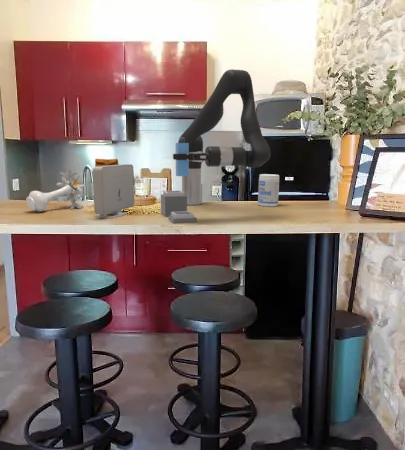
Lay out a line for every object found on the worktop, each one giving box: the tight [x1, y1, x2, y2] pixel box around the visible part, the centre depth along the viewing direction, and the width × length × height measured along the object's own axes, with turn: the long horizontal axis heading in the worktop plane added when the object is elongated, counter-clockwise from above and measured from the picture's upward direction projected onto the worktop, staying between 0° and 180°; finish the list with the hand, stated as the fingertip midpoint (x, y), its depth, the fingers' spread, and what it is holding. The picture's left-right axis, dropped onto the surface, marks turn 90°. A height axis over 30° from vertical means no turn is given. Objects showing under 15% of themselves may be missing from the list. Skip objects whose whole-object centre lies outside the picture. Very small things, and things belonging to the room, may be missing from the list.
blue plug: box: [175, 137, 189, 177], centre depth 159 cm, size 4×4×14 cm
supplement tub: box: [257, 173, 280, 208], centre depth 204 cm, size 10×10×15 cm
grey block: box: [160, 190, 188, 218], centre depth 177 cm, size 9×9×10 cm
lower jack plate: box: [167, 210, 198, 224], centre depth 163 cm, size 9×9×3 cm
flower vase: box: [25, 169, 85, 213], centre depth 189 cm, size 13×18×25 cm
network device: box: [92, 163, 135, 219], centre depth 176 cm, size 26×9×20 cm, turn 161°
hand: (174, 156), depth 158 cm, fingers closed on blue plug, 4 cm apart
